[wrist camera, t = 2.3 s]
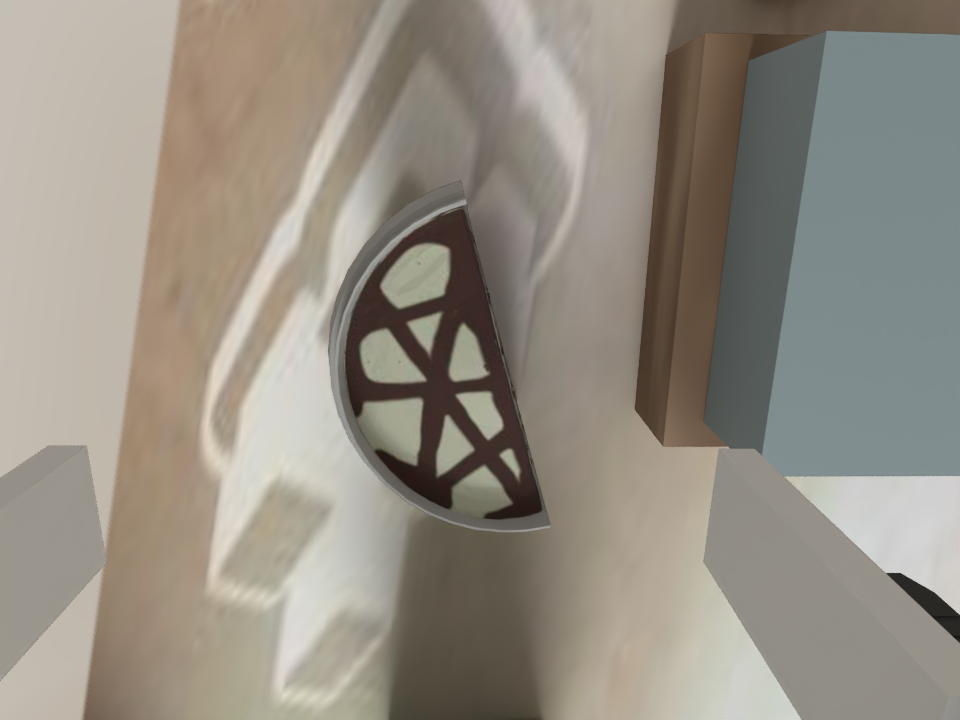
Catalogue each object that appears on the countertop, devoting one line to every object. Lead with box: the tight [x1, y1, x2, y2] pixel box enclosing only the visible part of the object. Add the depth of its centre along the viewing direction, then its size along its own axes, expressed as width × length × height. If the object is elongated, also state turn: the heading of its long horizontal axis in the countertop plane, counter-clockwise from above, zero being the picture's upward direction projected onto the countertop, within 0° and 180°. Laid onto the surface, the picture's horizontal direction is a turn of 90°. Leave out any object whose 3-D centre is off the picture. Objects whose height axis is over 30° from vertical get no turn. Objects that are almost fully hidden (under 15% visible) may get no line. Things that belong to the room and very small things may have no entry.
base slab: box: [635, 33, 812, 447], centre depth 28 cm, size 16×16×5 cm
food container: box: [328, 180, 551, 532], centre depth 25 cm, size 12×6×10 cm, turn 15°
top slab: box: [704, 31, 960, 476], centre depth 23 cm, size 12×14×5 cm
